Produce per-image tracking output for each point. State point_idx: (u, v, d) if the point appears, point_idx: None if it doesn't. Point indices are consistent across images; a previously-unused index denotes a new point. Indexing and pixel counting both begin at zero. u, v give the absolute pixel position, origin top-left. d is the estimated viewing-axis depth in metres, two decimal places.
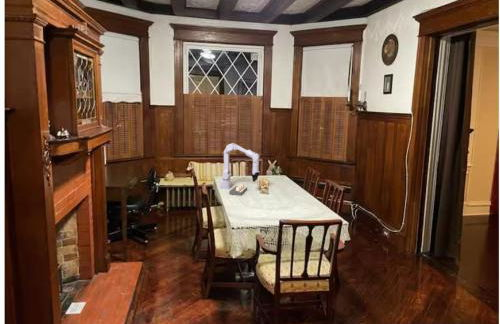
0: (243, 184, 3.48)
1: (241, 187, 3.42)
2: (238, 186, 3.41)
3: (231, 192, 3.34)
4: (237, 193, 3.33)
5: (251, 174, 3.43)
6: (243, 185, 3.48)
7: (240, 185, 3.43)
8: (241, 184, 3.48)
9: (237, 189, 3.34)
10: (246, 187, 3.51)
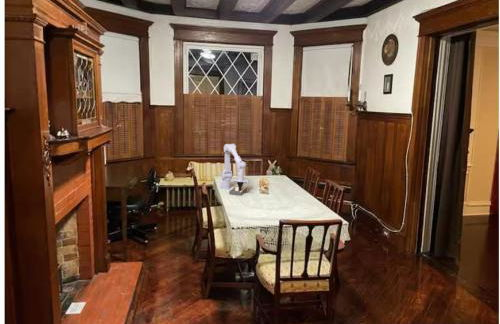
0: (243, 184, 3.48)
1: None
2: None
3: (231, 192, 3.34)
4: (237, 193, 3.33)
5: None
6: (243, 185, 3.48)
7: None
8: None
9: (236, 189, 3.34)
10: (246, 187, 3.51)
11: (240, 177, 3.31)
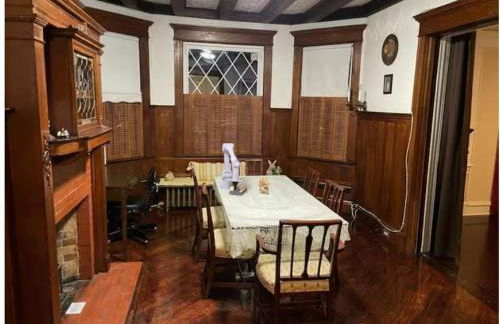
0: (243, 184, 3.48)
1: (241, 187, 3.42)
2: (238, 186, 3.41)
3: (231, 192, 3.34)
4: (237, 193, 3.33)
5: None
6: (243, 185, 3.48)
7: (240, 185, 3.43)
8: (241, 184, 3.48)
9: (231, 188, 3.35)
10: (246, 187, 3.51)
11: (235, 177, 3.32)
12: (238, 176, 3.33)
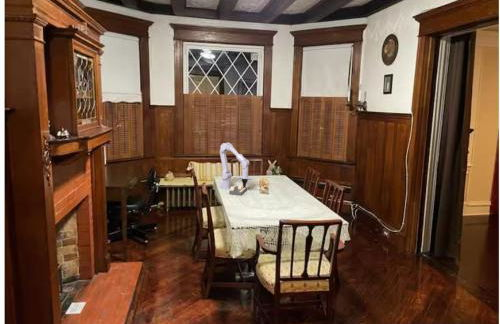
0: None
1: (241, 187, 3.42)
2: (238, 186, 3.41)
3: (231, 192, 3.34)
4: (237, 193, 3.33)
5: None
6: None
7: (240, 185, 3.43)
8: (241, 184, 3.48)
9: (232, 188, 3.35)
10: (246, 187, 3.51)
11: (244, 174, 3.44)
12: (247, 174, 3.46)
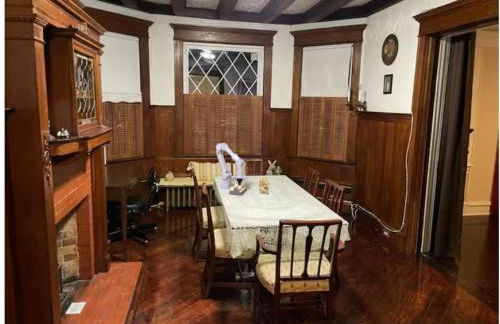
0: None
1: (241, 187, 3.42)
2: (238, 186, 3.41)
3: (231, 192, 3.34)
4: (237, 193, 3.33)
5: None
6: (238, 185, 3.49)
7: (240, 185, 3.43)
8: (236, 184, 3.49)
9: (232, 188, 3.35)
10: (246, 187, 3.51)
11: (239, 174, 3.45)
12: (242, 173, 3.47)
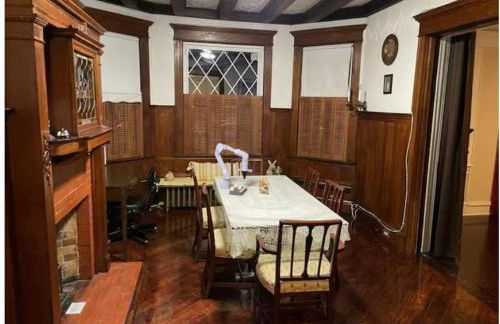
0: (238, 184, 3.49)
1: (241, 187, 3.42)
2: (238, 186, 3.41)
3: (231, 192, 3.34)
4: (237, 193, 3.33)
5: None
6: (238, 185, 3.49)
7: (240, 185, 3.43)
8: (236, 184, 3.49)
9: (232, 188, 3.35)
10: (246, 187, 3.51)
11: (244, 166, 3.53)
12: (247, 166, 3.55)
